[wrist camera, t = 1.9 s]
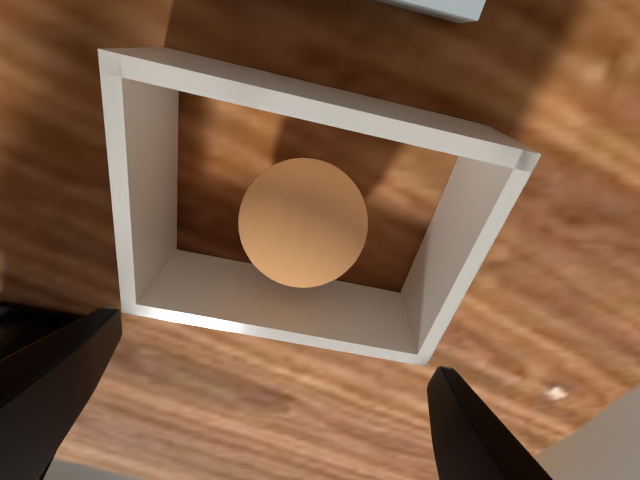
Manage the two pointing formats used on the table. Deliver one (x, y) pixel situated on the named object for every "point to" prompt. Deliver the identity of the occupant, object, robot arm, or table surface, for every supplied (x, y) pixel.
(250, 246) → the ball
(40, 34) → the table surface
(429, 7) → the tray
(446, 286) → the grey rectangular frame
